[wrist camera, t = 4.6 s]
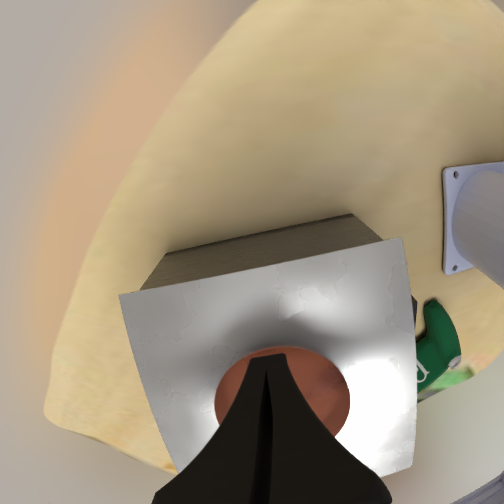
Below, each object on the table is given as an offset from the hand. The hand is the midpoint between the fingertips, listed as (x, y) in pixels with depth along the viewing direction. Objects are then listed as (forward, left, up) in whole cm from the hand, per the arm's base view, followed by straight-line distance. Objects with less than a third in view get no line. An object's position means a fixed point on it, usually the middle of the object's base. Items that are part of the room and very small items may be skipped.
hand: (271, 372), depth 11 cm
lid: (0, +3, 0) cm, 3 cm away
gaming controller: (-10, +10, -9) cm, 17 cm away
